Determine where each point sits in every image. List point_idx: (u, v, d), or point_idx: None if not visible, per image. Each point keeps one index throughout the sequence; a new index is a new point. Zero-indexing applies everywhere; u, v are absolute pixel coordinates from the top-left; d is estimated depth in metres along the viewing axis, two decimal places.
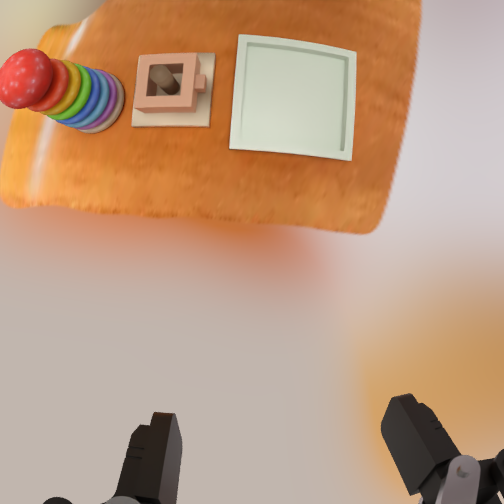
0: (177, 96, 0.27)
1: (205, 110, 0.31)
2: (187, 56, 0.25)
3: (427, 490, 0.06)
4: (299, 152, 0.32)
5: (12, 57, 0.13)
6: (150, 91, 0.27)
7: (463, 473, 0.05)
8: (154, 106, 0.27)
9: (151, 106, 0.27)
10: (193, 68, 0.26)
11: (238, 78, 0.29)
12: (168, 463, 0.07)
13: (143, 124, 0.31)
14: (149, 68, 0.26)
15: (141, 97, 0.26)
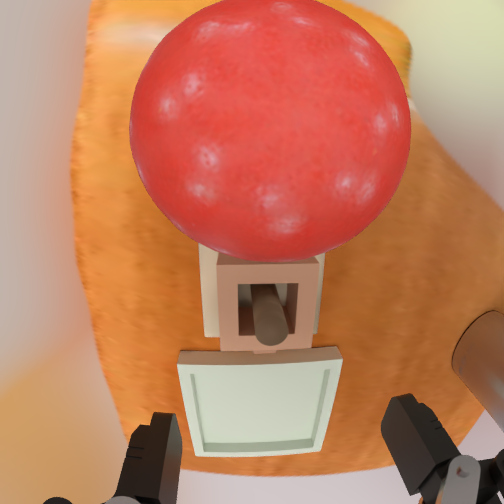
0: (236, 332, 0.19)
1: None
2: (306, 337, 0.19)
3: (427, 490, 0.06)
4: (189, 423, 0.26)
5: (394, 116, 0.03)
6: None
7: (463, 473, 0.05)
8: (219, 299, 0.18)
9: (219, 294, 0.18)
10: (284, 347, 0.19)
11: (275, 367, 0.24)
12: (168, 463, 0.07)
13: (201, 245, 0.21)
14: None
15: (236, 276, 0.18)
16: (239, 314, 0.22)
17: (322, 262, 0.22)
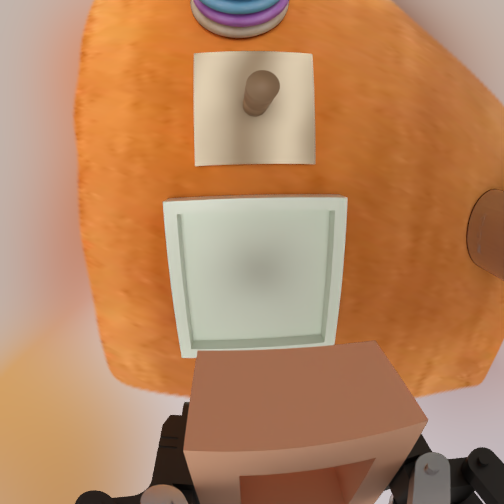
0: None
1: (218, 158, 0.22)
2: None
3: (396, 486, 0.07)
4: (174, 296, 0.24)
5: None
6: None
7: (430, 471, 0.06)
8: (199, 488, 0.06)
9: (197, 485, 0.06)
10: None
11: (273, 203, 0.22)
12: None
13: (195, 70, 0.19)
14: None
15: (234, 467, 0.06)
16: None
17: (312, 86, 0.20)
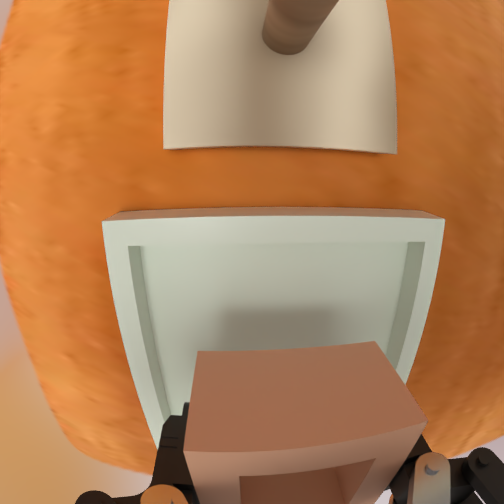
0: None
1: (211, 133, 0.10)
2: None
3: (396, 486, 0.07)
4: (137, 382, 0.13)
5: None
6: None
7: (430, 471, 0.06)
8: (199, 489, 0.06)
9: (197, 485, 0.06)
10: None
11: (320, 226, 0.11)
12: None
13: None
14: None
15: (234, 467, 0.06)
16: None
17: (386, 19, 0.09)
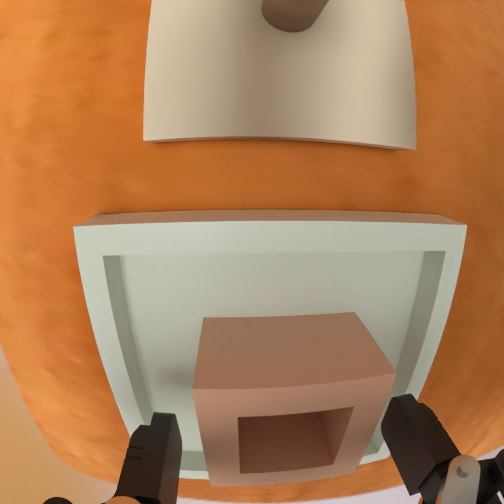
0: (236, 470, 0.09)
1: (200, 122, 0.08)
2: (350, 464, 0.09)
3: (427, 490, 0.06)
4: (120, 404, 0.11)
5: None
6: None
7: (463, 473, 0.05)
8: (203, 434, 0.08)
9: (202, 429, 0.08)
10: (313, 479, 0.10)
11: (329, 234, 0.09)
12: (168, 463, 0.07)
13: None
14: None
15: (234, 406, 0.08)
16: (239, 422, 0.12)
17: (402, 0, 0.07)
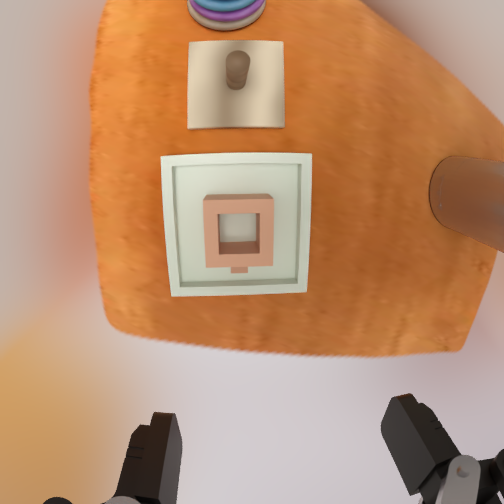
0: (217, 251, 0.27)
1: (206, 122, 0.26)
2: (268, 256, 0.27)
3: (427, 490, 0.06)
4: (167, 237, 0.29)
5: None
6: None
7: (463, 473, 0.05)
8: (204, 225, 0.26)
9: (204, 222, 0.26)
10: (252, 265, 0.27)
11: (249, 156, 0.27)
12: (168, 463, 0.07)
13: (190, 55, 0.24)
14: None
15: (216, 208, 0.25)
16: (220, 245, 0.29)
17: (282, 66, 0.25)
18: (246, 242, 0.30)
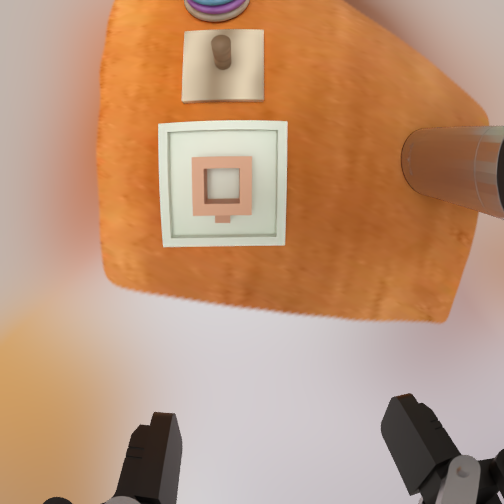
0: (203, 201, 0.30)
1: (197, 96, 0.30)
2: (247, 206, 0.31)
3: (427, 490, 0.06)
4: (161, 192, 0.32)
5: None
6: None
7: (463, 473, 0.05)
8: (192, 178, 0.30)
9: (192, 175, 0.29)
10: (233, 213, 0.31)
11: (233, 123, 0.30)
12: (168, 463, 0.07)
13: (185, 41, 0.28)
14: (235, 167, 0.30)
15: (202, 164, 0.29)
16: (207, 200, 0.33)
17: (262, 50, 0.28)
18: (230, 198, 0.34)
